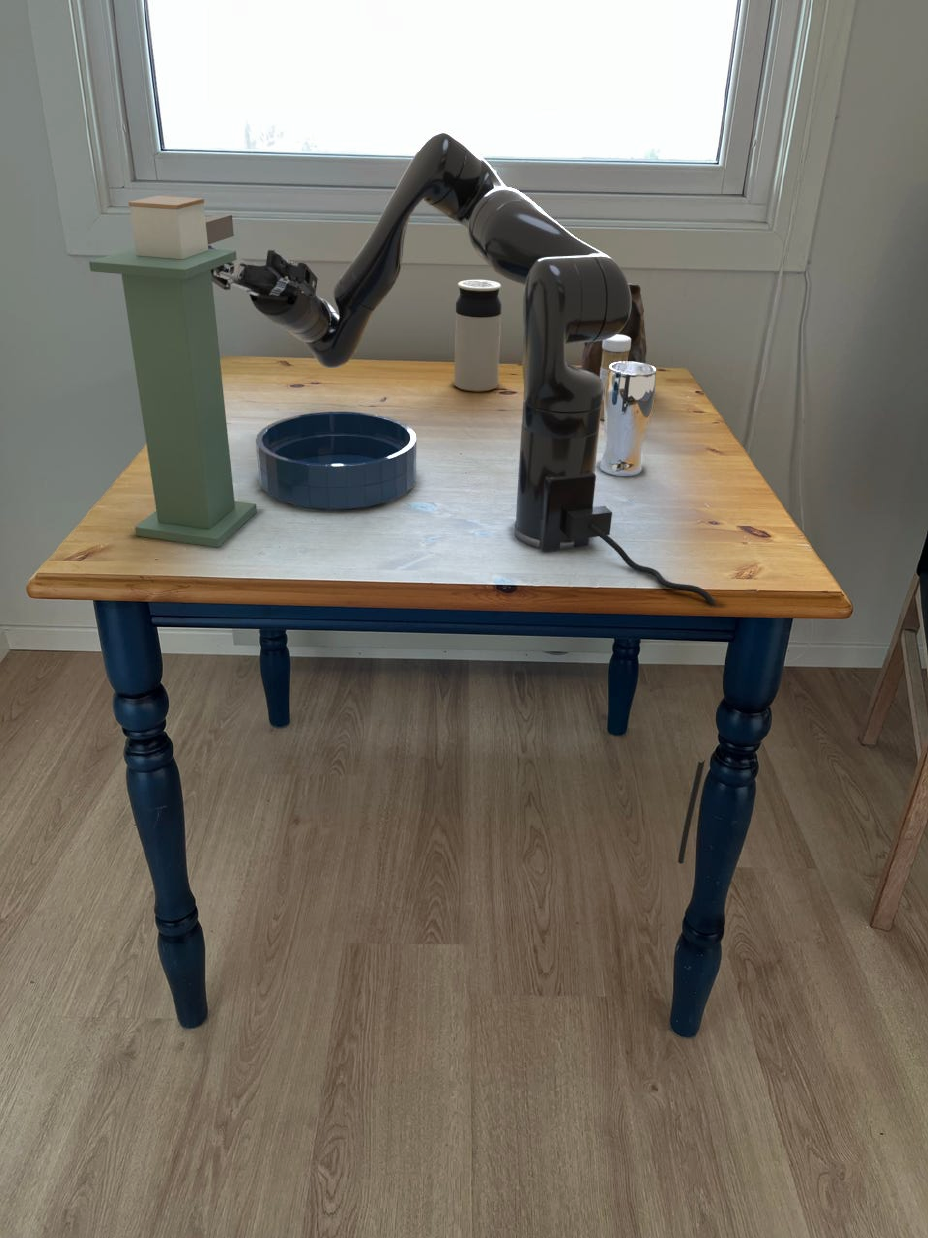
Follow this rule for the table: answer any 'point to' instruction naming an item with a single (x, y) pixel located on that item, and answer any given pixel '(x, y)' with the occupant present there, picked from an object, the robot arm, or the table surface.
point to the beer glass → (627, 416)
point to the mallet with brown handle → (175, 227)
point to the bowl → (336, 460)
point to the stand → (181, 394)
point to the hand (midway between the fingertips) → (238, 254)
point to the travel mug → (477, 335)
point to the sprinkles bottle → (613, 358)
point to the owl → (631, 329)
